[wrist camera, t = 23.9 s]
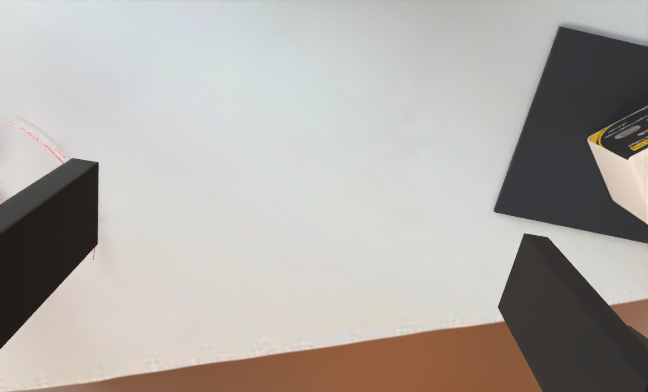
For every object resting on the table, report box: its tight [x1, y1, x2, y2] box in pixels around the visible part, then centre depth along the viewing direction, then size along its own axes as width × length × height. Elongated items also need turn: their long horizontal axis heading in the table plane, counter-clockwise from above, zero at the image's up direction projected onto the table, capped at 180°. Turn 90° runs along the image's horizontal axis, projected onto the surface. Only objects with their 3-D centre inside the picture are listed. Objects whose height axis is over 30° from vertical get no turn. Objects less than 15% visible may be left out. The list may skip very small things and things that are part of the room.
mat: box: [494, 27, 648, 243], centre depth 46 cm, size 17×21×1 cm
